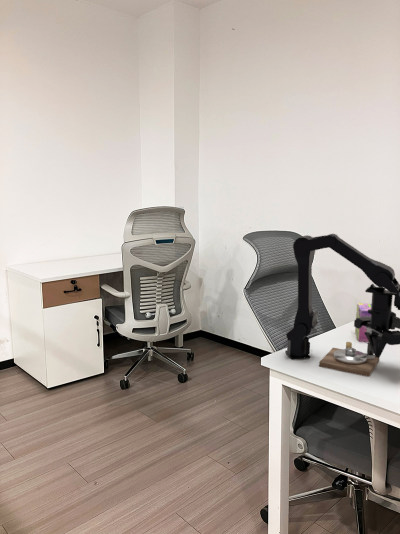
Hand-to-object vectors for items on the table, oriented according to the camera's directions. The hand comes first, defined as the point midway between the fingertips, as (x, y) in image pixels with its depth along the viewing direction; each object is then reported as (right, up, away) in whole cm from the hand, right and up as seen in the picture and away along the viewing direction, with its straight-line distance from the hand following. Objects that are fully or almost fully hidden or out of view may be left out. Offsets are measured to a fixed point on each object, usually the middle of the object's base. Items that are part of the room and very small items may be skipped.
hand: (377, 357), depth 143 cm
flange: (-6, -1, +5) cm, 8 cm away
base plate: (-7, -3, +5) cm, 9 cm away
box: (+7, +1, +30) cm, 31 cm away
